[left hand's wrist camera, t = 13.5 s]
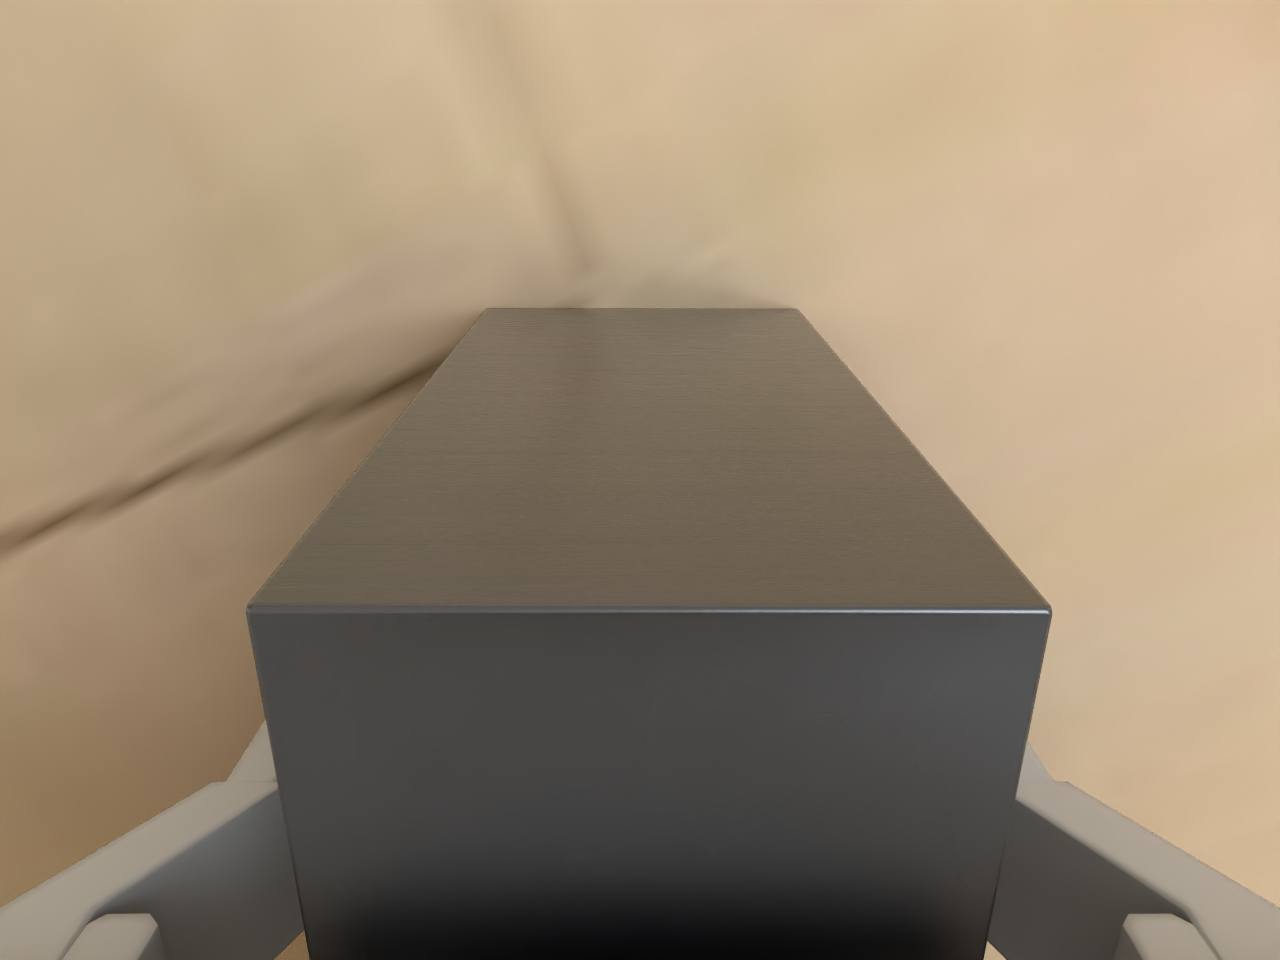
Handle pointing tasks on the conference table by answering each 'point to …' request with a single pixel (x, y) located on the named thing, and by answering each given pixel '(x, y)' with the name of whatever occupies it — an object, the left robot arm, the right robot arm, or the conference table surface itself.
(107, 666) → the conference table surface
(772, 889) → the bar
